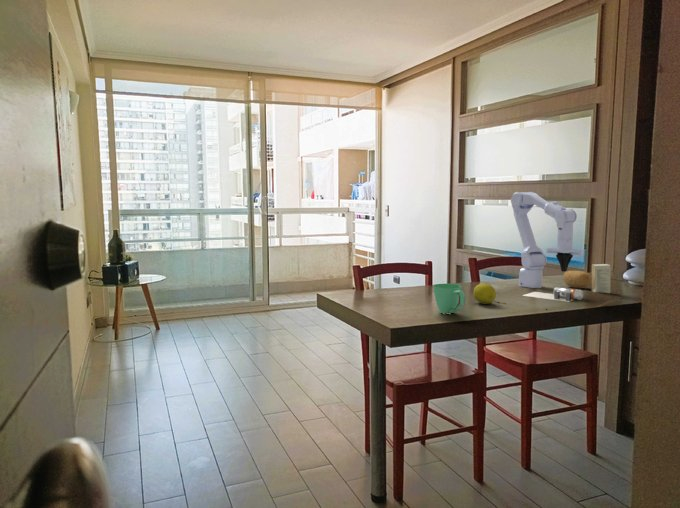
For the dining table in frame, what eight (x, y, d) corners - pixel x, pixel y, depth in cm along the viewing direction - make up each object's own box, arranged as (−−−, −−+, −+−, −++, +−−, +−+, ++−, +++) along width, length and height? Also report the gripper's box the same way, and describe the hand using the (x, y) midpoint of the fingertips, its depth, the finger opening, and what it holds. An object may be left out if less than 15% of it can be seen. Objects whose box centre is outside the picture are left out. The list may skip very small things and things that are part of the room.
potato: (574, 285, 232) (574, 268, 231) (597, 290, 218) (597, 272, 217) (556, 286, 229) (556, 269, 228) (578, 291, 216) (578, 273, 215)
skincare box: (606, 292, 213) (607, 263, 212) (610, 294, 209) (611, 265, 208) (590, 292, 214) (591, 263, 213) (594, 294, 210) (595, 265, 208)
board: (521, 297, 206) (521, 295, 206) (534, 293, 214) (534, 291, 214) (568, 303, 192) (568, 301, 192) (580, 299, 200) (580, 297, 200)
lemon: (499, 305, 191) (500, 285, 190) (480, 306, 190) (480, 286, 189) (488, 300, 202) (488, 280, 201) (469, 301, 201) (469, 281, 200)
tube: (552, 296, 200) (553, 286, 200) (557, 297, 203) (558, 286, 203) (578, 299, 193) (579, 289, 193) (582, 300, 196) (583, 289, 196)
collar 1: (554, 299, 198) (554, 291, 197) (563, 296, 203) (563, 288, 203) (557, 299, 197) (557, 291, 196) (566, 296, 202) (566, 289, 202)
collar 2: (565, 300, 194) (565, 292, 194) (574, 297, 200) (574, 290, 200) (569, 301, 193) (569, 293, 193) (578, 297, 199) (578, 290, 199)
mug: (427, 311, 184) (427, 284, 183) (450, 309, 188) (450, 282, 187) (451, 320, 170) (451, 291, 169) (475, 317, 174) (475, 288, 173)
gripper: (543, 238, 210) (542, 270, 212) (579, 240, 199) (578, 274, 201) (551, 237, 215) (550, 268, 216) (586, 239, 204) (585, 272, 206)
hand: (564, 271), depth 209 cm, fingers closed
